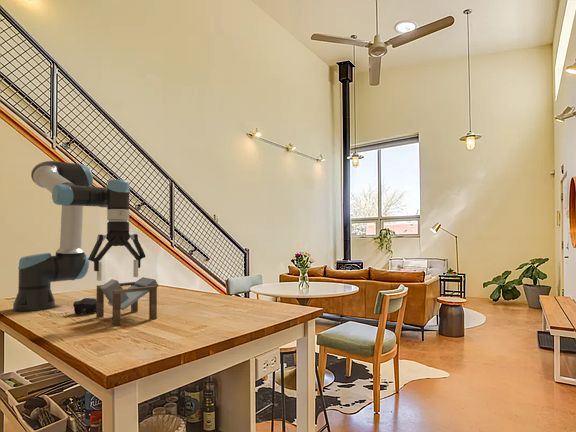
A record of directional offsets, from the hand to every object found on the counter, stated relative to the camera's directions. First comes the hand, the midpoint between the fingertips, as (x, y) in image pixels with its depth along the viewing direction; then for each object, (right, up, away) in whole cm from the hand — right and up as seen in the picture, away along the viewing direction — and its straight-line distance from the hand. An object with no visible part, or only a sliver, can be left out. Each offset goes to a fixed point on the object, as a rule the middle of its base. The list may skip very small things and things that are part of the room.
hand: (118, 278), depth 140 cm
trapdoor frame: (+2, -15, +1) cm, 15 cm away
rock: (-17, -16, +12) cm, 26 cm away
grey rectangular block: (+1, -9, 0) cm, 9 cm away
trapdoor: (+5, -8, +4) cm, 10 cm away
